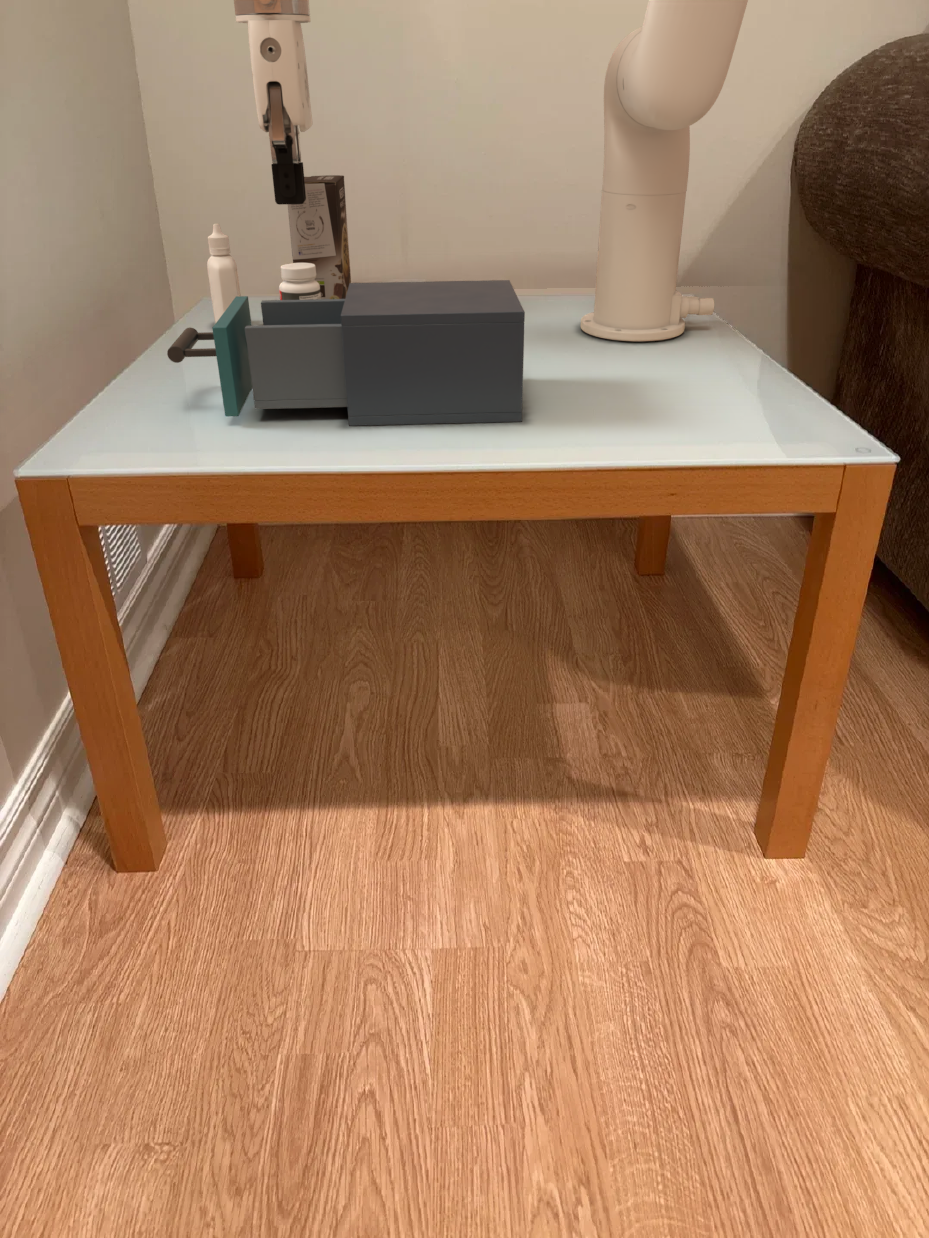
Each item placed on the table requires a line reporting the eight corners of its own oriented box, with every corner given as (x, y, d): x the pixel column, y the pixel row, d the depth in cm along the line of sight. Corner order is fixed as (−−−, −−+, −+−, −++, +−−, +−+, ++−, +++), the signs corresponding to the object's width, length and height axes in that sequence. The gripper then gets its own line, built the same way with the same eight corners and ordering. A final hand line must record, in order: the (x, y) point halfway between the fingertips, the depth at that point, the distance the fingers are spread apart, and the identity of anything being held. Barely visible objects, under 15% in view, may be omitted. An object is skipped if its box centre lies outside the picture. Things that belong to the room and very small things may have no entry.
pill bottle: (277, 338, 111) (269, 265, 106) (311, 332, 113) (305, 260, 109) (296, 346, 107) (288, 271, 103) (331, 339, 110) (325, 266, 106)
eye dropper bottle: (253, 321, 118) (241, 220, 112) (239, 332, 113) (226, 227, 107) (220, 320, 118) (206, 220, 112) (205, 331, 114) (190, 227, 108)
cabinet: (348, 426, 83) (340, 315, 78) (356, 381, 95) (349, 282, 90) (521, 421, 84) (524, 311, 79) (507, 378, 96) (509, 280, 91)
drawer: (169, 418, 83) (153, 328, 79) (197, 377, 93) (184, 297, 89) (386, 412, 83) (382, 324, 79) (389, 373, 94) (385, 293, 90)
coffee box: (346, 318, 119) (336, 181, 111) (296, 318, 119) (283, 181, 111) (354, 303, 127) (345, 174, 119) (307, 303, 127) (296, 174, 119)
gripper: (301, 1, 87) (319, 212, 96) (315, 9, 100) (329, 194, 109) (221, 1, 86) (247, 213, 96) (245, 10, 99) (266, 195, 109)
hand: (291, 202), depth 102 cm, fingers closed
